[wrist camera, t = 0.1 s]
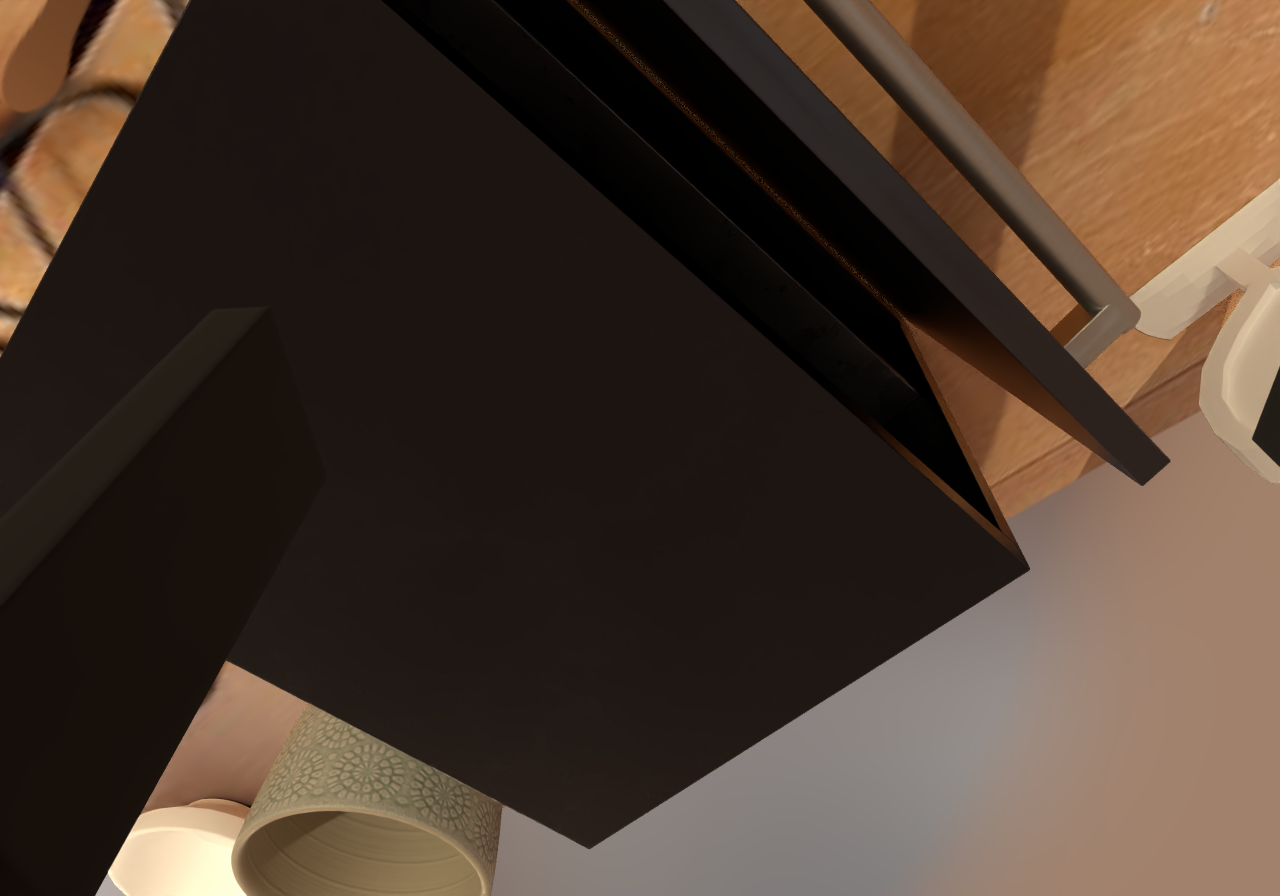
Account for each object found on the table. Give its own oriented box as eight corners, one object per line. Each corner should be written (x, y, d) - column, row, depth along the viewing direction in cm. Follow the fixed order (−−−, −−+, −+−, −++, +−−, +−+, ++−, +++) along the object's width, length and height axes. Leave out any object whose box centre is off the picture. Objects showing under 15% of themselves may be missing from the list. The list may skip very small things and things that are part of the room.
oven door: (503, -222, 46) (479, -499, 23) (966, 263, 60) (1244, 397, 37) (441, -132, 47) (359, -307, 24) (909, 322, 61) (1142, 487, 38)
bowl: (344, 814, 98) (323, 876, 92) (271, 886, 106) (247, 946, 101) (176, 743, 91) (142, 804, 85) (114, 825, 100) (79, 886, 94)
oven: (440, -127, 48) (249, -116, 26) (905, 322, 62) (1031, 570, 40) (184, 277, 61) (-78, 503, 40) (612, 568, 76) (589, 850, 54)
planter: (394, 586, 78) (324, 771, 62) (566, 699, 86) (543, 889, 70) (270, 693, 86) (181, 879, 71) (437, 787, 94) (390, 973, 78)
